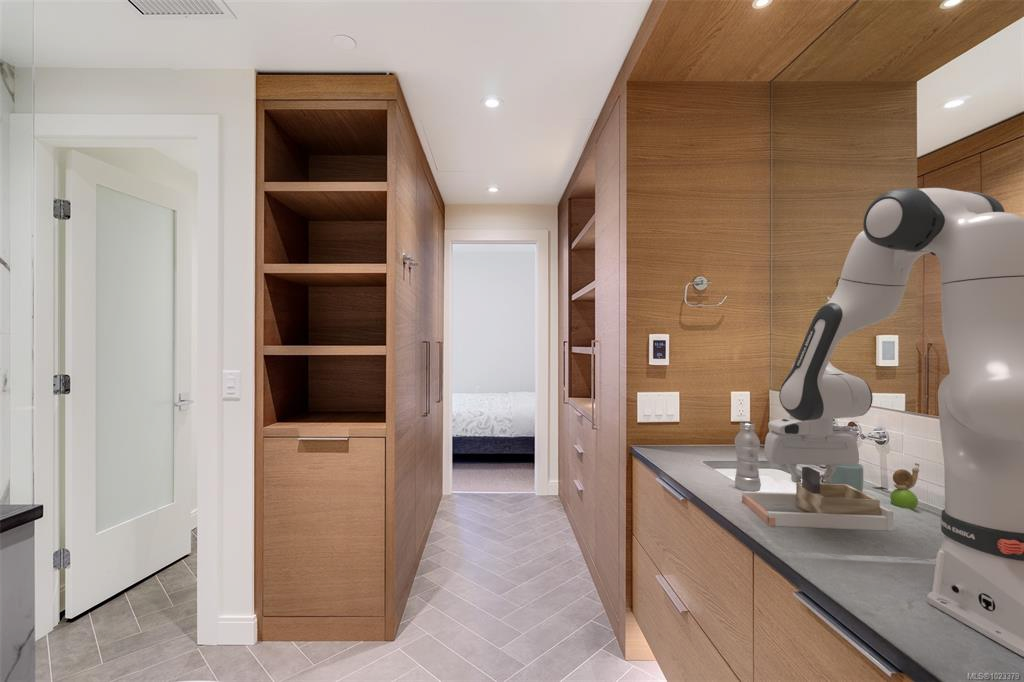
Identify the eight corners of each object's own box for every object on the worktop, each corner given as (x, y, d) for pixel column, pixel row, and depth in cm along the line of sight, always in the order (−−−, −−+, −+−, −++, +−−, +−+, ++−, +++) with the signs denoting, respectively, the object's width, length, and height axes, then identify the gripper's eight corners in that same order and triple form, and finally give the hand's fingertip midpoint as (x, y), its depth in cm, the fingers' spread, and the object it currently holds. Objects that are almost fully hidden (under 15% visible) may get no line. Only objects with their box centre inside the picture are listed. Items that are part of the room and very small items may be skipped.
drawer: (879, 527, 103) (879, 478, 103) (821, 524, 104) (821, 476, 104) (846, 508, 115) (846, 464, 115) (795, 506, 116) (794, 463, 116)
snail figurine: (928, 513, 114) (927, 466, 114) (902, 513, 115) (901, 466, 115) (909, 506, 120) (909, 460, 120) (884, 506, 120) (884, 460, 120)
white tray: (893, 536, 101) (893, 511, 101) (769, 531, 104) (769, 506, 104) (848, 510, 117) (848, 488, 117) (742, 506, 120) (742, 485, 120)
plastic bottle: (764, 496, 127) (764, 425, 127) (738, 495, 128) (737, 424, 129) (756, 489, 133) (756, 421, 134) (731, 488, 135) (731, 420, 135)
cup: (863, 507, 119) (863, 469, 119) (827, 501, 124) (827, 464, 124) (863, 499, 125) (863, 463, 125) (829, 493, 130) (828, 458, 130)
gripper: (848, 424, 112) (848, 480, 112) (761, 422, 115) (761, 477, 115) (865, 428, 106) (865, 488, 106) (772, 426, 108) (773, 485, 108)
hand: (810, 482), depth 110 cm, fingers open, 5 cm apart
